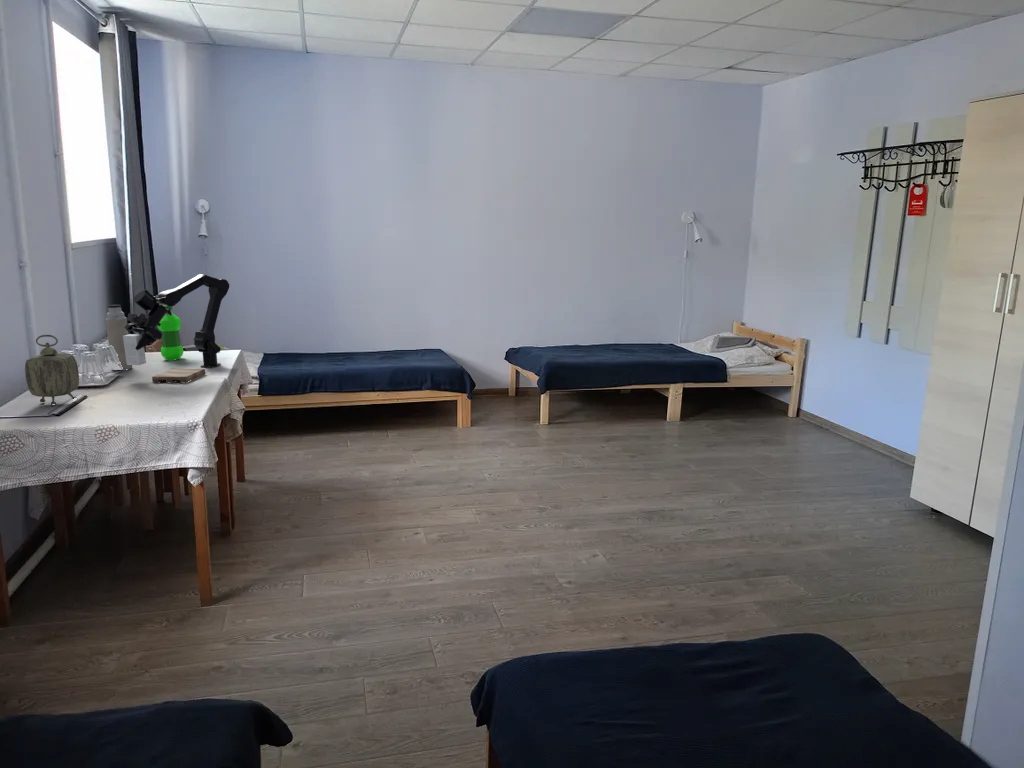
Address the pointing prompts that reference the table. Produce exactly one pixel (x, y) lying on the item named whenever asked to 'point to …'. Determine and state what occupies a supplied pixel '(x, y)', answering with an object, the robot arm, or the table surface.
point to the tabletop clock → (51, 373)
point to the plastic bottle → (170, 336)
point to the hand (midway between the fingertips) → (131, 348)
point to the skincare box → (133, 350)
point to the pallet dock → (179, 375)
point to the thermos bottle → (117, 332)
